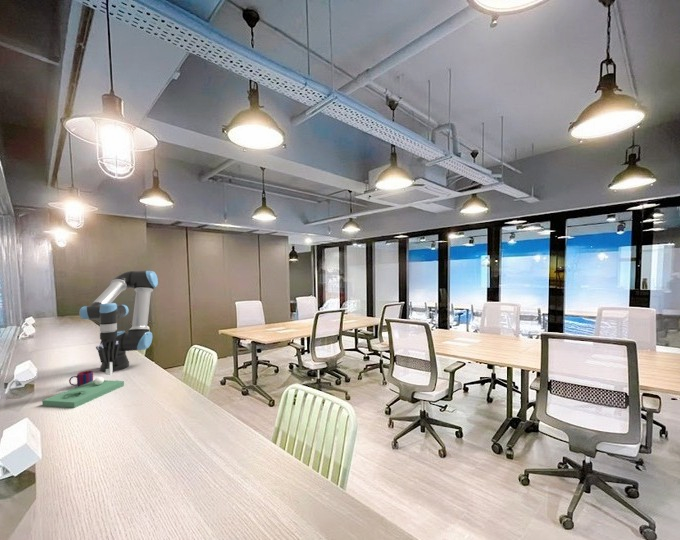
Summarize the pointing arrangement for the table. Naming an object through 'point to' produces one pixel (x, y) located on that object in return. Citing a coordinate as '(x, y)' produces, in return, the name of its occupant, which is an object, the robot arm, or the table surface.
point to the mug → (83, 378)
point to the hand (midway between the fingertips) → (109, 374)
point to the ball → (99, 381)
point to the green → (82, 394)
